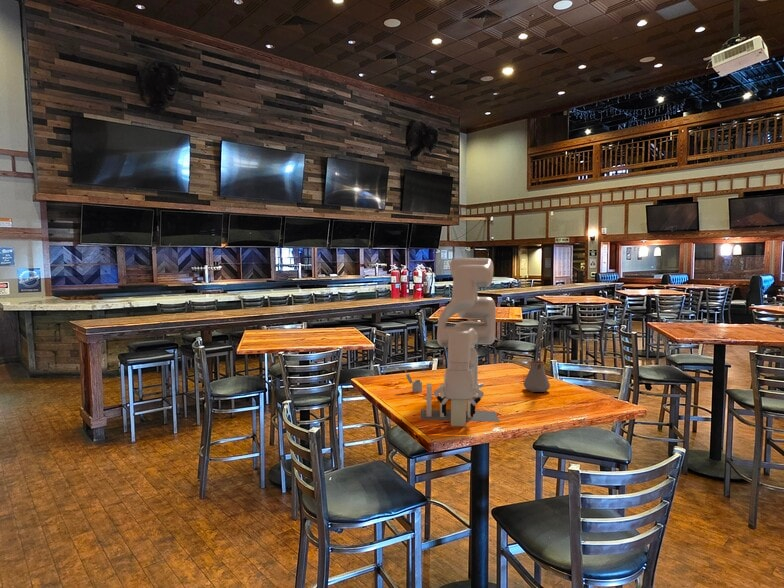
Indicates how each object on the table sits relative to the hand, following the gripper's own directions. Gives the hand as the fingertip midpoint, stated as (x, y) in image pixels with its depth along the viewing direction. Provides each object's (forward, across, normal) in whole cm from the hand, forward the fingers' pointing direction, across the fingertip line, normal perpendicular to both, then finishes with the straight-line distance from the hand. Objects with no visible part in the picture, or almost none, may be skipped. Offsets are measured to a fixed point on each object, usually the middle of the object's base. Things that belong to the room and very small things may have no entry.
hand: (458, 415), depth 164 cm
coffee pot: (+4, -37, -46) cm, 59 cm away
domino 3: (+4, 0, 0) cm, 4 cm away
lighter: (+4, +16, -44) cm, 47 cm away
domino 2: (+3, +5, -11) cm, 13 cm away
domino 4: (+3, -5, -11) cm, 13 cm away
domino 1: (+3, +10, -11) cm, 15 cm away
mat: (+4, -1, -11) cm, 12 cm away
